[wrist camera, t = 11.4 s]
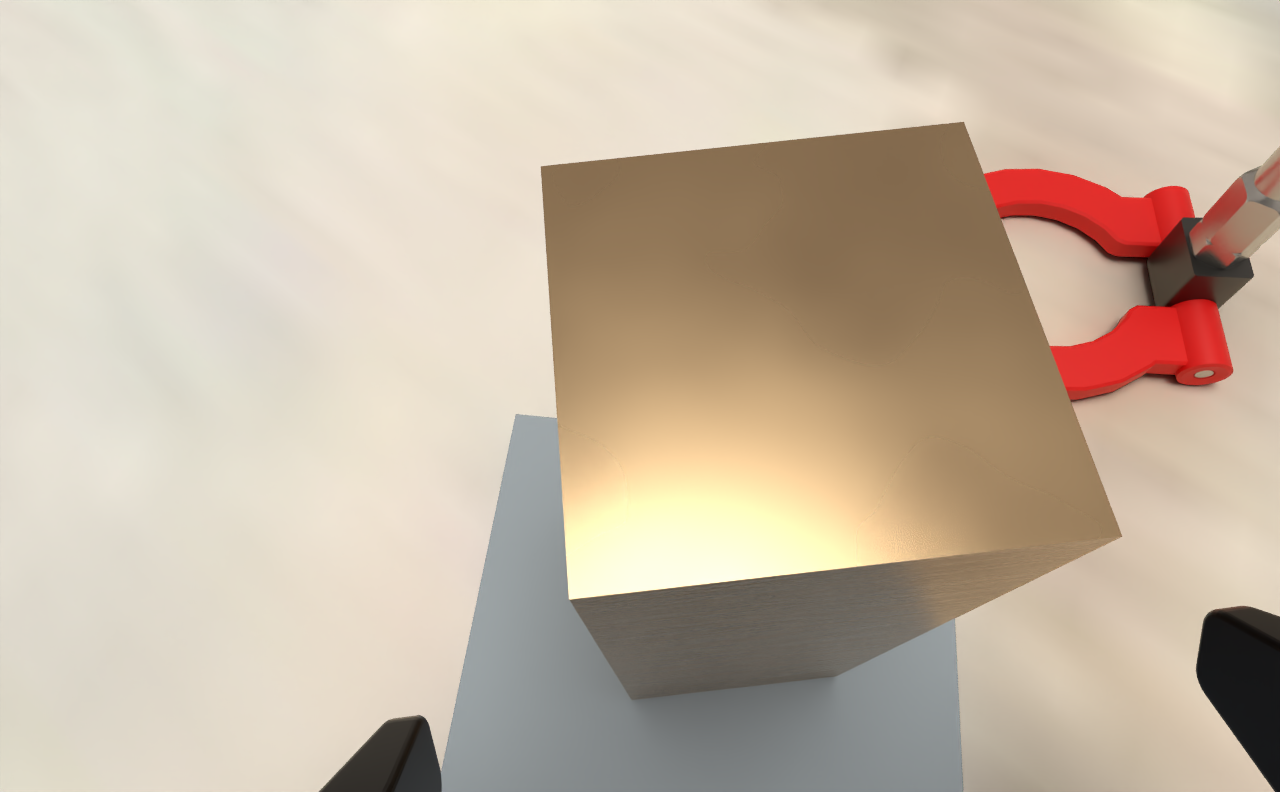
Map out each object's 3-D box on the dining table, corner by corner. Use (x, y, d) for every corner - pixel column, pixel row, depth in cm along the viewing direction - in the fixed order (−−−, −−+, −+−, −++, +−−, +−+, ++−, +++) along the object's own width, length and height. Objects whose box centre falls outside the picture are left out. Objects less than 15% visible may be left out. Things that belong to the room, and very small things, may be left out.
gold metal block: (836, 676, 19) (1122, 537, 7) (631, 700, 19) (569, 599, 7) (796, 481, 21) (964, 121, 9) (612, 502, 21) (541, 166, 9)
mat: (953, 1093, 16) (979, 1122, 15) (410, 1003, 17) (388, 1023, 16) (930, 475, 22) (946, 457, 21) (524, 434, 23) (515, 414, 22)
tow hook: (902, 397, 24) (1223, 417, 23) (1083, 50, 12) (1751, 56, 11) (893, 186, 28) (1170, 194, 26) (1027, -236, 16) (1530, -253, 15)
